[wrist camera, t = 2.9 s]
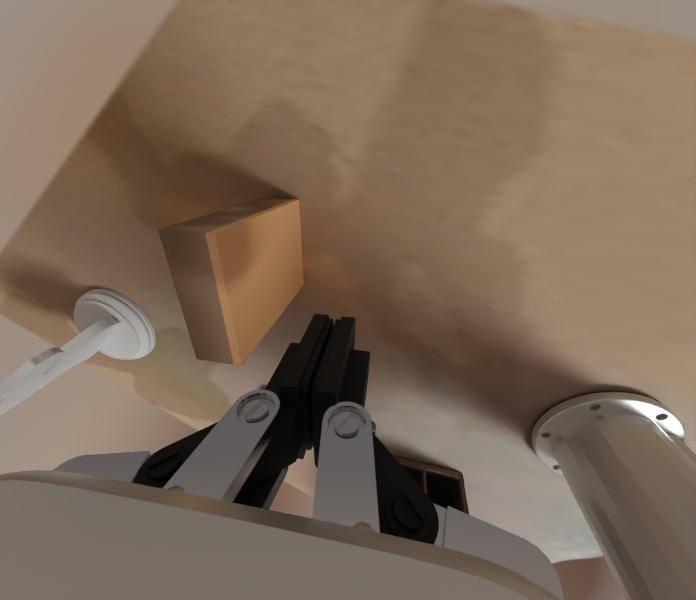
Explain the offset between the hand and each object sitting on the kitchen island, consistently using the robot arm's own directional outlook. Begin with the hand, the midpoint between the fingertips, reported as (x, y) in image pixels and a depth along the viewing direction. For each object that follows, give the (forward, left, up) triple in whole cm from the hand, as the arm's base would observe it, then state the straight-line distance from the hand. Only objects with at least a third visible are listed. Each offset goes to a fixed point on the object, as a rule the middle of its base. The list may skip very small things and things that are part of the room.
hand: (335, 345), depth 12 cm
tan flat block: (+8, 0, -15) cm, 17 cm away
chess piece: (+31, +12, -15) cm, 36 cm away
